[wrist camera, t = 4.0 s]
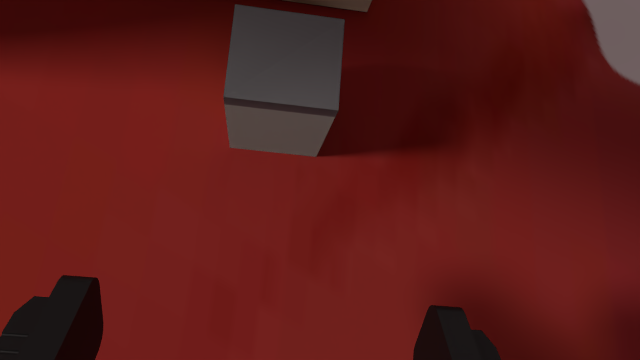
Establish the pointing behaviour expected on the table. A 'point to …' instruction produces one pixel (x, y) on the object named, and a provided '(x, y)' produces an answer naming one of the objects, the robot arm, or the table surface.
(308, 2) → the din rail mount
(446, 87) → the table surface
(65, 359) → the robot arm
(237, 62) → the block
